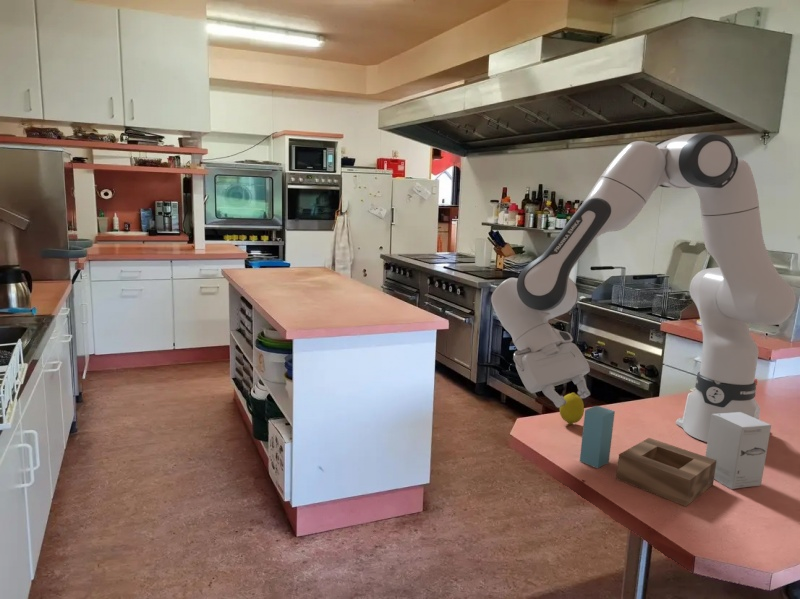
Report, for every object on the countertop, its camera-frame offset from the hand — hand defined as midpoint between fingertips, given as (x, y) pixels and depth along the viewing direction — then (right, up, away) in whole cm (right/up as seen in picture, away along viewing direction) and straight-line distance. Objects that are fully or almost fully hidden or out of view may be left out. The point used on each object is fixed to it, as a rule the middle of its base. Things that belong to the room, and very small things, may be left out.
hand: (574, 401), depth 120 cm
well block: (+14, -14, -10) cm, 22 cm away
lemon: (+4, -9, +17) cm, 20 cm away
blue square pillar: (+3, -12, -2) cm, 13 cm away
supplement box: (+29, -14, -7) cm, 33 cm away
